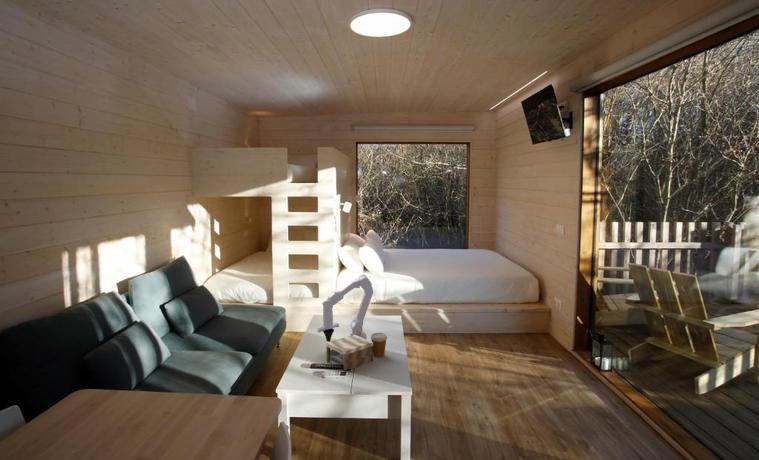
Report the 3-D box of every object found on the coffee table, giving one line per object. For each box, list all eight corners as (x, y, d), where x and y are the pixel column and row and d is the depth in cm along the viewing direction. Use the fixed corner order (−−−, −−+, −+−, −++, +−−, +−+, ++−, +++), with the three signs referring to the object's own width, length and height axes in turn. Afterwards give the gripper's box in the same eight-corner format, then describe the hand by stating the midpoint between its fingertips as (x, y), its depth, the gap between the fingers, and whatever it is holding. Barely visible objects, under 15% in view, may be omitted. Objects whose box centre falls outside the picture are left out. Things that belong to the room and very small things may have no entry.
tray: (344, 352, 264) (344, 342, 263) (363, 362, 250) (363, 351, 250) (328, 357, 256) (328, 347, 256) (348, 367, 243) (348, 356, 242)
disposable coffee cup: (385, 359, 254) (385, 338, 253) (369, 357, 256) (369, 337, 255) (388, 352, 264) (388, 333, 262) (372, 351, 266) (372, 331, 264)
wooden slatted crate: (354, 352, 264) (354, 334, 263) (373, 361, 252) (373, 342, 250) (326, 361, 250) (326, 342, 249) (344, 371, 238) (344, 351, 237)
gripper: (333, 314, 274) (334, 336, 276) (314, 320, 265) (314, 342, 266) (340, 317, 269) (341, 339, 271) (321, 323, 259) (321, 345, 261)
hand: (328, 341), depth 268 cm, fingers closed
